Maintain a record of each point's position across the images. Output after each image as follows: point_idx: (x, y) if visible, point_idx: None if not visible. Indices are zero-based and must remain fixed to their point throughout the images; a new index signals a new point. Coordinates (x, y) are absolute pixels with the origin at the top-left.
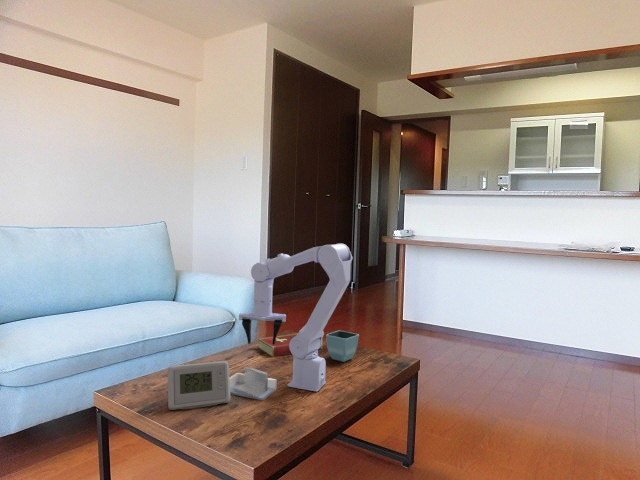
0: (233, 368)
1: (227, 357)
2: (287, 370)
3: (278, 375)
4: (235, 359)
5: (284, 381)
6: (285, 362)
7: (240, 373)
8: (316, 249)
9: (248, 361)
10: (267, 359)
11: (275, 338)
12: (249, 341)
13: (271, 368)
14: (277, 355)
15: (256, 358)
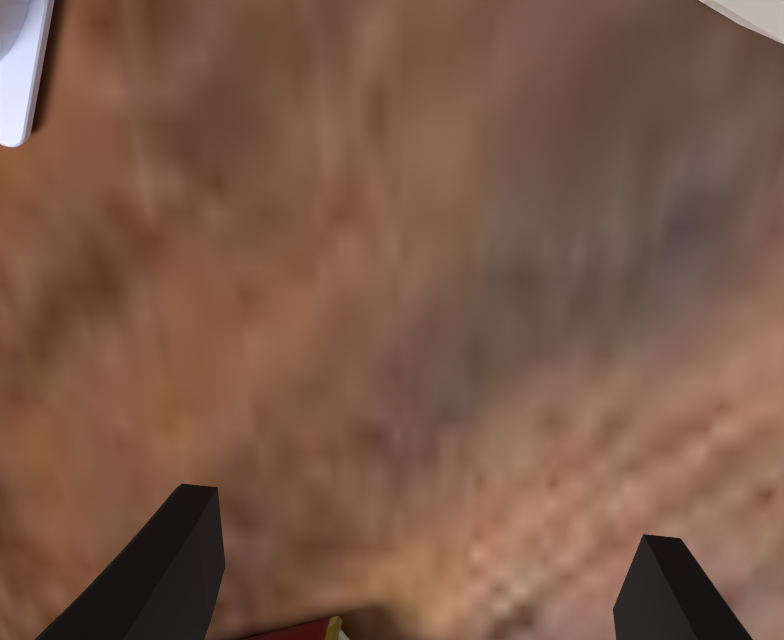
0: (699, 423)
1: None
2: (174, 355)
3: (246, 233)
4: None
5: (156, 49)
6: None
7: (753, 2)
8: None
9: (537, 553)
10: (375, 578)
11: (108, 569)
12: (671, 566)
13: (331, 406)
14: (297, 630)
15: (465, 600)
